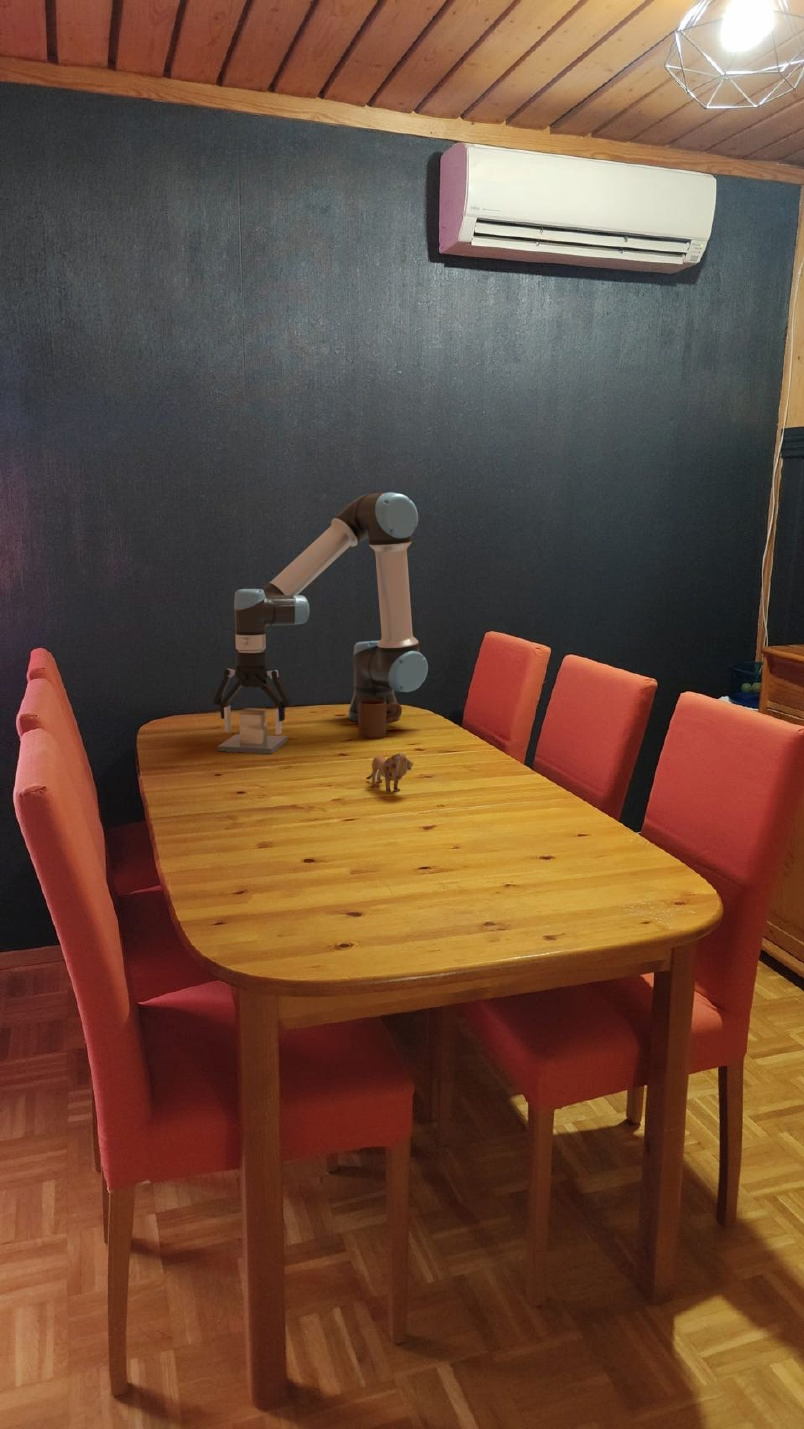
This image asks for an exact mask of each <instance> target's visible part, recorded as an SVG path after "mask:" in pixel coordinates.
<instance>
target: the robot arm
mask: <svg viewBox="0 0 804 1429" xmlns="http://www.w3.org/2000/svg"><path fill="white" fill-rule="evenodd" d="M418 522H419V514H418V510H417V506H416V505H415V503H414V502H413V501H412V500H411V499H410V498H409V497H408V496H406V495H404V494H402V493H396V492H390V491H389V492H382V493H380V492H377V493H375V492H374V493H373V492H372V493H371V492H370V493H365V494H363V495H361V496H359V497H357V498H356V499H354V500H353V501H352V502H351V503H349V504H348V505H346V507H344V508H343V509H342V510H341V511H340V512H339V513H338V514H337V515H335V517H334V518H333V519H332V520H331V525H330V526H329V527H328V528H327V529H326V530H325V531H324V532H322V534H320V535H319V536H318V537H317V538H316V539H315V540H314V541H313V542H312V543H311V544H310V545H309V546H308V547H307V548H306V549H304V550H303V551H302V552H301V553H300V554H299V555H298V556H297V557H296V558H295V559H294V560H293V561H292V562H290V563H289V564H288V565H287V566H286V567H285V568H284V569H283V570H282V571H281V572H280V573H279V574H278V575H276V576H275V577H274V578H273V579H272V580H271V581H270V582H268V583H267V584H266V585H265V586H264V587H263V588H242V589H237V590H236V591H235V593H234V598H233V600H234V606H233V609H234V624H235V626H234V627H235V649H236V650H237V651H236V652H235V659H236V661H235V664H236V669H233V668H231V667H228V668H226V669H224V670H223V671H224V672H223V678H222V680H221V683H220V686H219V687H218V690H217V692H216V694H215V696H214V699H213V701H212V703H213V705H217V706H219V707H220V718H221V719H222V720H224V733H229V732H230V731H232V717H231V716H232V715H231V705H228V704H229V703H230V702H231V700H232V699H233V698H234V697H235V696H236V695H237V693H238V692H239V691H240V689H241V688H242V687H244V688H250V687H251V688H260V689H261V690H263V692H264V693H265V694H266V695H267V696H268V698H269V699H270V700H271V701H272V703H274V705H275V706H276V709H275V710H274V712H275V720H274V721H275V735H277V736H280V734H281V733H283V732H282V722H283V721H285V719H286V713H285V712H286V708H288V707H290V706H292V704H293V701H292V700H291V698H290V696H289V694H288V692H287V690H286V688H285V686H284V684H283V682H282V680H281V678H280V672H279V670H278V669H277V668H276V669H273V670H268V669H267V652H266V651H265V650H266V648H267V645H266V642H267V641H266V639H267V638H266V627H272V626H274V627H275V626H296V625H302V624H305V623H307V621H308V619H309V617H310V604H309V600H308V599H307V597H306V596H304V595H300V593H301V592H302V591H303V590H305V588H307V587H308V586H309V585H310V584H311V583H312V582H313V581H314V580H315V579H316V578H317V577H319V575H321V574H322V573H323V572H324V571H325V570H326V569H327V568H328V567H330V565H331V564H332V563H333V562H335V560H337V559H338V558H339V557H340V556H341V555H343V553H345V551H347V549H349V547H356V546H357V545H358V544H359V543H361V541H364V540H366V539H367V538H368V546H369V547H370V548H371V549H372V550H374V554H375V565H376V578H377V580H376V581H377V592H378V604H379V615H380V616H379V617H380V630H381V638H380V640H369V641H359V642H356V643H355V645H354V647H353V648H354V649H353V654H352V655H353V688H354V690H353V691H354V692H353V695H352V699H351V702H350V705H349V708H348V713H347V714H348V716H347V719H348V720H350V721H352V722H357V723H358V707H359V702H360V701H363V700H381V701H385V702H386V705H387V704H389V703H391V702H396V703H398V701H397V699H396V695H395V692H399V693H400V692H401V693H402V692H404V693H409V692H413V691H415V690H417V689H418V688H420V687H422V686H421V685H422V684H423V683H424V682H425V680H426V678H427V676H428V671H429V664H428V660H427V658H426V657H425V656H424V655H423V654H422V653H421V652H420V646H419V645H420V644H419V640H418V639H417V638H416V637H415V636H414V634H413V622H412V620H413V619H412V607H411V594H410V593H411V592H410V580H409V564H408V551H407V550H408V548H409V547H410V545H411V544H412V534H413V533H414V532H415V529H416V528H417V527H418ZM234 676H235V677H236V678H237V679H238V680H237V682H236V683H235V684H234V685H233V687H232V688H231V690H229V692H228V693H227V695H226V696H225V692H226V690H227V688H228V686H229V684H230V682H231V679H232V678H233V677H234ZM267 677H269V678H270V679H271V680H272V682H273V686H275V689H276V690H277V692H278V693H277V692H275V690H274V689H273V687H272V686H271V685H270V683H269V682H268V681H267V680H266V679H267ZM278 694H279V695H278ZM224 696H225V697H224ZM223 697H224V698H223ZM396 710H397V708H392V709H390V710H388V711H386V716H388V715H393V714H395V713H396ZM400 717H401V716H400ZM400 717H399V718H398V719H396V720H393V721H390V722H389V723H392V722H395V721H398V720H399V719H400Z"/></svg>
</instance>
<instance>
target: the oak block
mask: <svg viewBox="0 0 804 1429" xmlns="http://www.w3.org/2000/svg"><path fill="white" fill-rule="evenodd" d="M267 711H268V709H267V708H253V707H252V708H251V707H250V708H249V707H245V708H243V709H242V710H240V711H239V712H238V718H239V719H238V720H239V723H238V724H239V726H238V727H239V734H240V743H250V744H261V743H263V742H264V741H265V740H267V735H268V726H267V725H268V721H267V718H268V717H267V716H268V715H267Z"/></svg>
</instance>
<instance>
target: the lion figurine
mask: <svg viewBox="0 0 804 1429" xmlns="http://www.w3.org/2000/svg"><path fill="white" fill-rule="evenodd" d="M413 765H414V762H412V760H409V758H407V754H406V753H404V752H402V753H401V752H399V753H396V754H393V755H392V756H389V757H388V758H387V759H386V757H384V756H383V755H377V756H375V757H374V758H373V759H372V764H371V770H372V773H371V774H370V775H369V776H367V777H366V779H365V780H371V787H372V788H375V787H377V783H376V782H378V783H382V782H383V779H381V777H383V778H384V780H385V781H384V784H385V794H387V795H391V794H392V790H391V789H392V788H391V781H392V782H393V791H394V792H400V791H401V789H400V788H399V787H398V784H399V781H400V780H402V778H403V777H404V776H406V775H407V773H408V771H409V772H411V771H412V768H413V767H414V766H413Z"/></svg>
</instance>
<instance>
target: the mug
mask: <svg viewBox="0 0 804 1429" xmlns="http://www.w3.org/2000/svg"><path fill="white" fill-rule="evenodd" d="M392 708H397V710H396V713H395V714H393V715H388V716H386V711H388V710H390V709H392ZM402 713H403V708H402V706H401V704H400V703H398V702H397V703H396V702H391V703H389V704H387V705H386V702H385V701H381V700H363V701H360V702H359V707H358V722H357V723H358V724H357V726H358V727H357V728H358V732H357V733H358V735H359V737H360V738H362V739H369V740H374V739H375V740H376V739H383V738H385V737H386V735H387V725H388V724H389V723H391V722H390V721H392V722H394V721H393V720H396V719H398V718H399V717H401V716H402ZM399 719H400V718H399ZM399 719H398V720H399ZM396 721H397V720H396Z"/></svg>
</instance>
